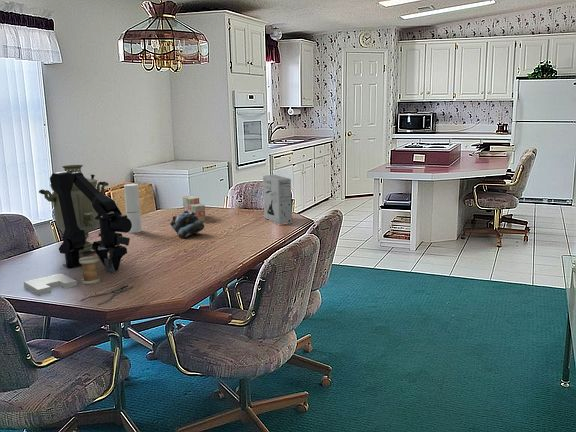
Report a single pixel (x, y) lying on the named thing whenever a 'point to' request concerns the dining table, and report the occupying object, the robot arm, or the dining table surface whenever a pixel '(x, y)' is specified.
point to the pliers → (111, 293)
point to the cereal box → (277, 199)
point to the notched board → (49, 283)
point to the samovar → (77, 206)
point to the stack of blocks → (194, 207)
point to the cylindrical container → (133, 206)
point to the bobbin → (89, 270)
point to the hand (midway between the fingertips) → (111, 268)
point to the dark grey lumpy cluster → (186, 224)
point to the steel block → (108, 265)
